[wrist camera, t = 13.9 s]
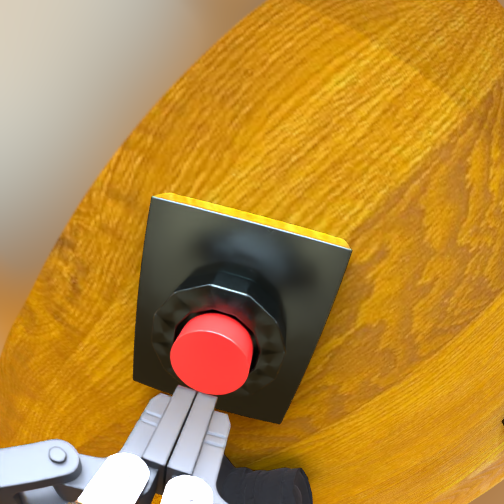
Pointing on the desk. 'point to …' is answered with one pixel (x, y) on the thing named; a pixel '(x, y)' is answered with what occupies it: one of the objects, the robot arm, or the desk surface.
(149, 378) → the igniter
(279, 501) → the film camera
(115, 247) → the desk surface
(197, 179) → the desk surface
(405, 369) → the desk surface
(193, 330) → the button
